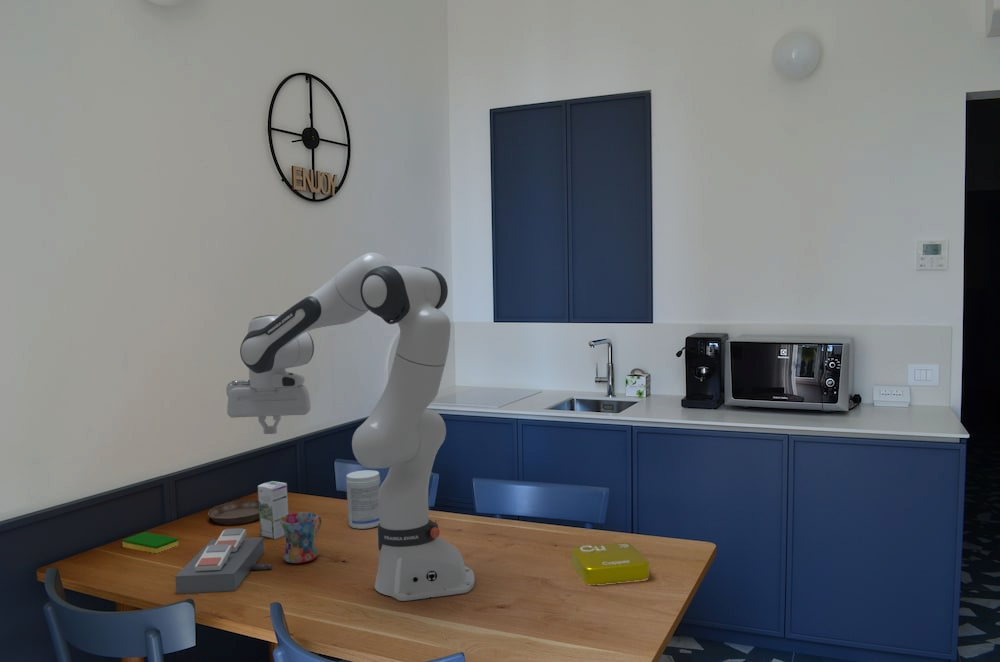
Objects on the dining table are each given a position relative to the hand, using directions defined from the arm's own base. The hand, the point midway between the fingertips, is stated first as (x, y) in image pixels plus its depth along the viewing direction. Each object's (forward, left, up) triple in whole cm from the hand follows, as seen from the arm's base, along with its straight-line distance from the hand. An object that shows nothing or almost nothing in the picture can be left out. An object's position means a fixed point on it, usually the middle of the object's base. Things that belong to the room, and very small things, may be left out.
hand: (270, 433), depth 192 cm
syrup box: (+4, -15, -31) cm, 35 cm away
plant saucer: (+19, -34, -32) cm, 50 cm away
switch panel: (+7, +11, -31) cm, 34 cm away
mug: (-8, +4, -31) cm, 33 cm away
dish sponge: (+36, -11, -32) cm, 49 cm away
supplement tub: (-20, -21, -31) cm, 43 cm away
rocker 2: (+10, +5, -26) cm, 28 cm away
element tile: (-82, +23, -32) cm, 91 cm away
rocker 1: (+10, +17, -26) cm, 33 cm away
